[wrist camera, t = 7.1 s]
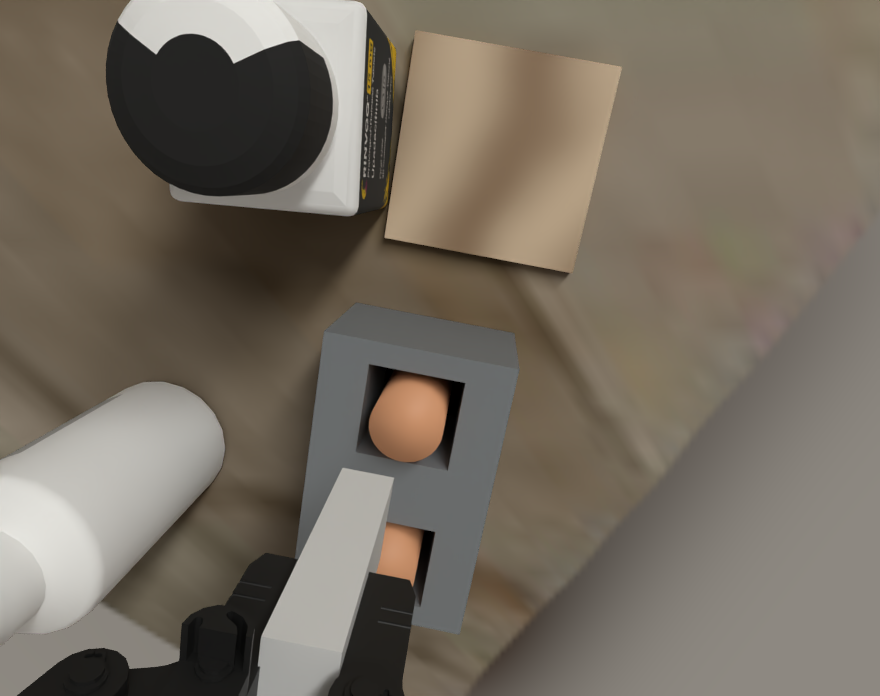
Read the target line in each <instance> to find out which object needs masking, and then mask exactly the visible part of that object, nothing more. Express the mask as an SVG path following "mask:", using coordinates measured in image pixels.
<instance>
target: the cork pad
mask: <svg viewBox="0 0 880 696" xmlns="http://www.w3.org/2000/svg"><path fill="white" fill-rule="evenodd" d="M621 69H622V67H620V66H614V65H608V64H603V63H597V62H592V61H586V60H580V59H575V58H569V57H563V56H558V55H552V54H547V53H541V52H535V51H530V50H524V49H518V48H513V47H507V46H502V45H496V44H490V43H485V42H479V41H473V40H468V39H462V38H456V37H451V36H445V35H440V34H434V33H428V32H423V31H417V30H416V31H415V38H414V45H413V51H412V58H411V64H410V71H409V78H408V84H407V91H406V98H405V104H404V111H403V118H402V124H401V131H400V138H399V144H398V151H397V157H396V164H395V171H394V177H393V184H392V191H391V197H390V204H389V211H388V217H387V224H386V231H385V237H384V238H389V239H394V240H399V241H405V242H410V243H415V244H421V245H426V246H431V247H436V248H442V249H447V250H452V251H457V252H463V253H468V254H473V255H479V256H484V257H489V258H494V259H500V260H505V261H510V262H515V263H521V264H526V265H531V266H537V267H542V268H547V269H552V270H558V271H563V272H568V273H573V269H574V265H575V261H576V256H577V252H578V248H579V244H580V240H581V236H582V231H583V227H584V223H585V219H586V215H587V211H588V207H589V202H590V198H591V194H592V190H593V186H594V182H595V177H596V173H597V169H598V165H599V161H600V157H601V153H602V148H603V144H604V140H605V136H606V132H607V128H608V123H609V119H610V115H611V111H612V107H613V103H614V98H615V94H616V90H617V86H618V82H619V78H620V74H621Z"/></svg>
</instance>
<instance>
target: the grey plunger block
mask: <svg viewBox="0 0 880 696" xmlns="http://www.w3.org/2000/svg"><path fill="white" fill-rule="evenodd" d="M386 367H387V368H392V369H397V370H402V371H407V372H412V373H417V374H422V375H427V376H432V377H437V378H442V379H448V380H453V381H458V382H463V386H462V391H461V396H460V401H459V406H458V411H457V416H456V418H455V417H450V416H446V421H445V426H444V431H443V436H442V440H441V442H440V444H439V446H438V447H437V449H436V450H435V451H434V452H433V453H432V454H431V455H429V456H428V457H426V458H424V459H422V460H419V461H415V462H401V461H397V460H394V459H391V458H389V457H387V456H386V455H384V454H383V453H382V452H381V451H380V450H379V449H378V448H377V447H376V446H375V444H374V443H373V441H372V439H371V436H370V432H369V419H370V415H371V413H372V411H373V409H374V407H375V405H376V403H377V401H378V399H379V397H380V395H381V393H382V392H383V385H384V379H385V373H386ZM518 373H519V363H518V356H517V349H516V342H515V335H514V333H510V332H505V331H500V330H495V329H490V328H485V327H479V326H474V325H469V324H464V323H459V322H454V321H448V320H443V319H438V318H433V317H428V316H423V315H417V314H412V313H407V312H402V311H397V310H392V309H386V308H381V307H376V306H371V305H366V304H361V303H355V304H354V305H353V306H352V307H351V308H350V309H349V310H348V311H346V312H345V313H344V314H343V315H342V316H341V317H340V318H339V319H337V320H336V321H335V322H334V323H333V324H332V325H331V326H330V327H328V328H327V329H326V330H325V331H324V336H323V344H322V352H321V359H320V367H319V375H318V383H317V391H316V398H315V406H314V414H313V422H312V430H311V437H310V445H309V453H308V461H307V469H306V476H305V484H304V492H303V500H302V507H301V515H300V523H299V531H298V539H297V546H296V554H295V559H299V557H300V555H301V553H302V551H303V549H304V547H305V545H306V543H307V540H308V538H309V536H310V534H311V532H312V530H313V528H314V526H315V524H316V522H317V520H318V518H319V516H320V514H321V511H322V509H323V507H324V505H325V503H326V501H327V499H328V497H329V495H330V493H331V491H332V489H333V487H334V485H335V482H336V480H337V478H338V476H339V474H340V472H341V470H342V468H347V469H352V470H357V471H363V472H368V473H373V474H378V475H383V476H388V477H393V478H394V481H393V487H392V493H391V499H390V504H389V510H388V516H387V522H390V523H395V524H399V525H404V526H409V527H414V528H419V529H424V530H429V531H433V534H432V533H427V532H424V534H423V539H422V544H421V550H420V555H419V560H418V565H417V570H416V575H415V580H414V584H413V590H414V592H415V595H416V599H415V605H414V611H413V617H412V623H411V624H412V625H416V626H421V627H426V628H431V629H435V630H440V631H445V632H449V633H454V634H460V630H461V626H462V621H463V617H464V612H465V608H466V603H467V599H468V595H469V590H470V586H471V581H472V577H473V572H474V568H475V564H476V559H477V555H478V550H479V546H480V541H481V537H482V533H483V528H484V524H485V519H486V515H487V511H488V506H489V502H490V497H491V493H492V488H493V484H494V480H495V475H496V471H497V466H498V462H499V457H500V453H501V449H502V444H503V440H504V435H505V431H506V427H507V422H508V418H509V413H510V409H511V404H512V400H513V396H514V391H515V387H516V382H517V378H518Z"/></svg>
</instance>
